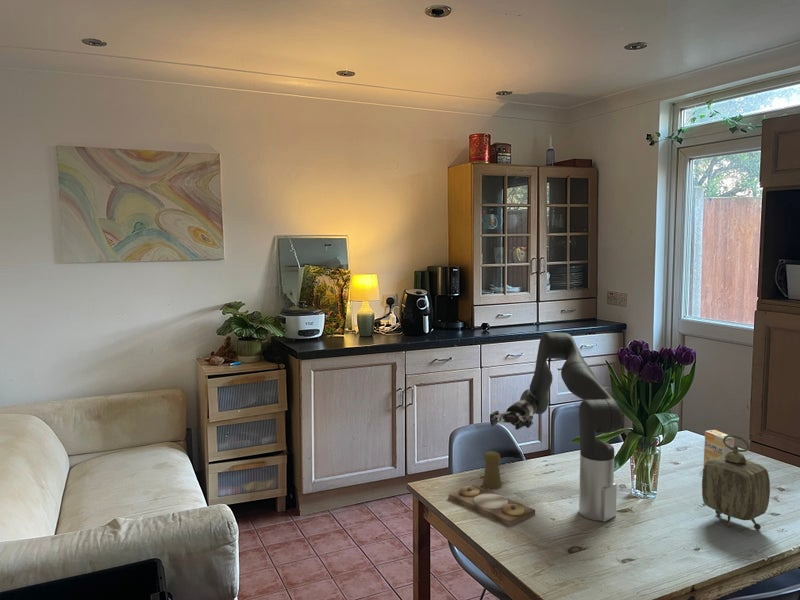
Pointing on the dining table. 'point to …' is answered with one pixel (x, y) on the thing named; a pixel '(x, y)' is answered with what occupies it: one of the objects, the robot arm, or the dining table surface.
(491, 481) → the cork
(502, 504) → the board
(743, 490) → the tabletop clock
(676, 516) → the dining table surface
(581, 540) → the dining table surface
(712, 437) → the supplement box
